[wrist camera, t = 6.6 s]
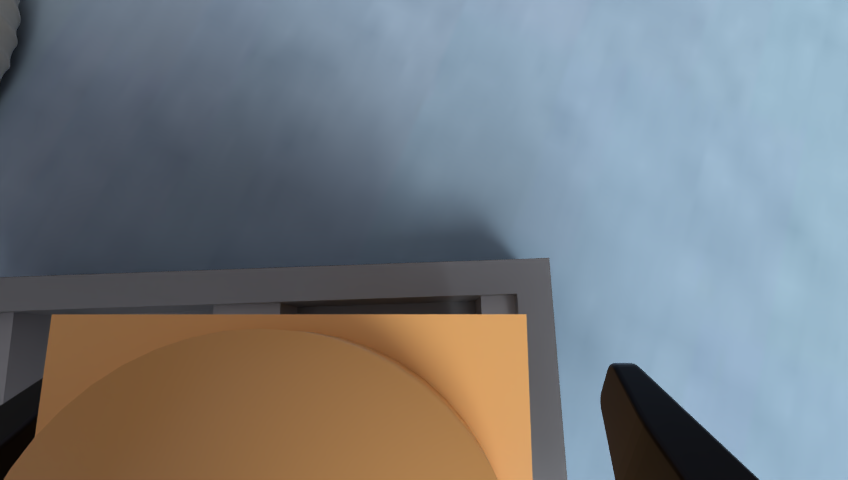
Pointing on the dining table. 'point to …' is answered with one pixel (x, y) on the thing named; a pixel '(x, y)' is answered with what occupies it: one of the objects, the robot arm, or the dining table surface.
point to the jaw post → (283, 398)
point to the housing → (303, 294)
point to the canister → (8, 32)
